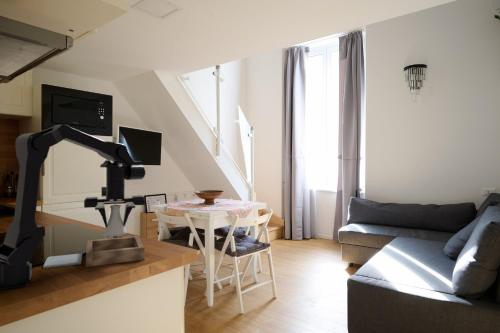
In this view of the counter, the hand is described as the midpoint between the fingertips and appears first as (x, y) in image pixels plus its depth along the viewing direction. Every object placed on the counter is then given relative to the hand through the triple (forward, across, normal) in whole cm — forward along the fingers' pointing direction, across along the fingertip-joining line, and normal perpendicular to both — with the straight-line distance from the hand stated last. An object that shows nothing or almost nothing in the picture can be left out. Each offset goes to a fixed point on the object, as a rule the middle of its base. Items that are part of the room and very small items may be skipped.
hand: (115, 226), depth 107 cm
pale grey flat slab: (+10, +15, 0) cm, 18 cm away
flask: (+3, 0, 0) cm, 3 cm away
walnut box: (+10, 0, 0) cm, 10 cm away
